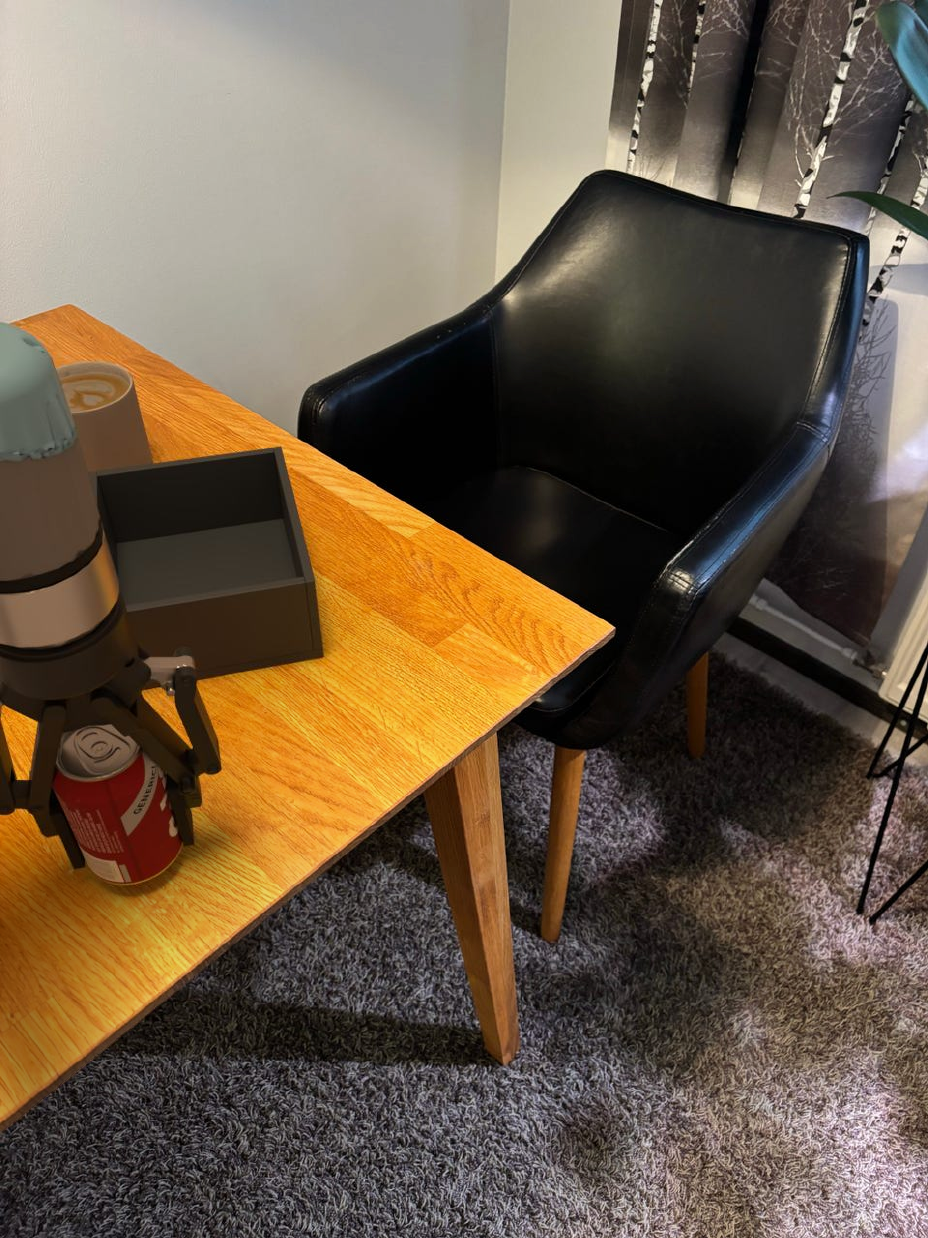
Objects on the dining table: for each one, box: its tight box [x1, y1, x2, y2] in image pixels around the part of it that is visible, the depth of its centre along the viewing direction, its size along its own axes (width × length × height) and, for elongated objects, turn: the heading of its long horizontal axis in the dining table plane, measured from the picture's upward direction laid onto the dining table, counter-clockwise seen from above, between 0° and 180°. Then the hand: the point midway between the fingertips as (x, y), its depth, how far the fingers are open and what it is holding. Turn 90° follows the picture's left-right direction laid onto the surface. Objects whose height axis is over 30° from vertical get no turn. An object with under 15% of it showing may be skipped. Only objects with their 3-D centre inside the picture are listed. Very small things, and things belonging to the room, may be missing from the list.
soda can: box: [52, 724, 183, 886], centre depth 65 cm, size 7×7×12 cm
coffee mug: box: [55, 360, 154, 472], centre depth 101 cm, size 13×10×10 cm
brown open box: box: [88, 445, 324, 690], centre depth 86 cm, size 18×20×9 cm
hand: (134, 840), depth 69 cm, fingers closed on soda can, 7 cm apart
